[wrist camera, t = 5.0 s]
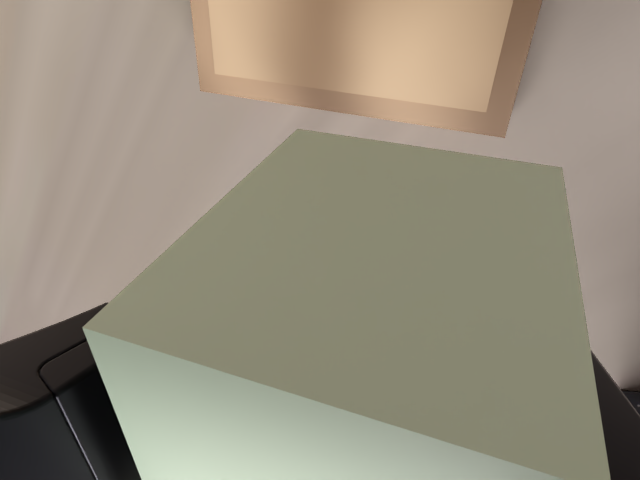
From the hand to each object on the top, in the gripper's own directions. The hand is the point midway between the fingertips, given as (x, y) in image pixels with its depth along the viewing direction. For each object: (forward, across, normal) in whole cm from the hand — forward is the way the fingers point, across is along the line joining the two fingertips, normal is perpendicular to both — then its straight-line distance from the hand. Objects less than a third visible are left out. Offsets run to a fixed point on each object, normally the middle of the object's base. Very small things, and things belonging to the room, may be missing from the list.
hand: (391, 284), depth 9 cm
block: (+1, 0, 0) cm, 1 cm away
